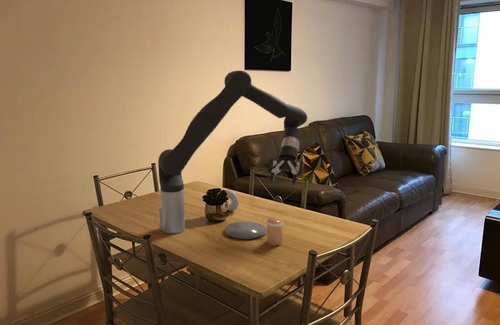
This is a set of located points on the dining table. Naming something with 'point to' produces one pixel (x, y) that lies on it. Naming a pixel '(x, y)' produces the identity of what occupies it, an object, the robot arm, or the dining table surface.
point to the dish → (245, 230)
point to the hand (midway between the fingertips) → (282, 183)
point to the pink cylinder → (274, 231)
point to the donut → (234, 200)
